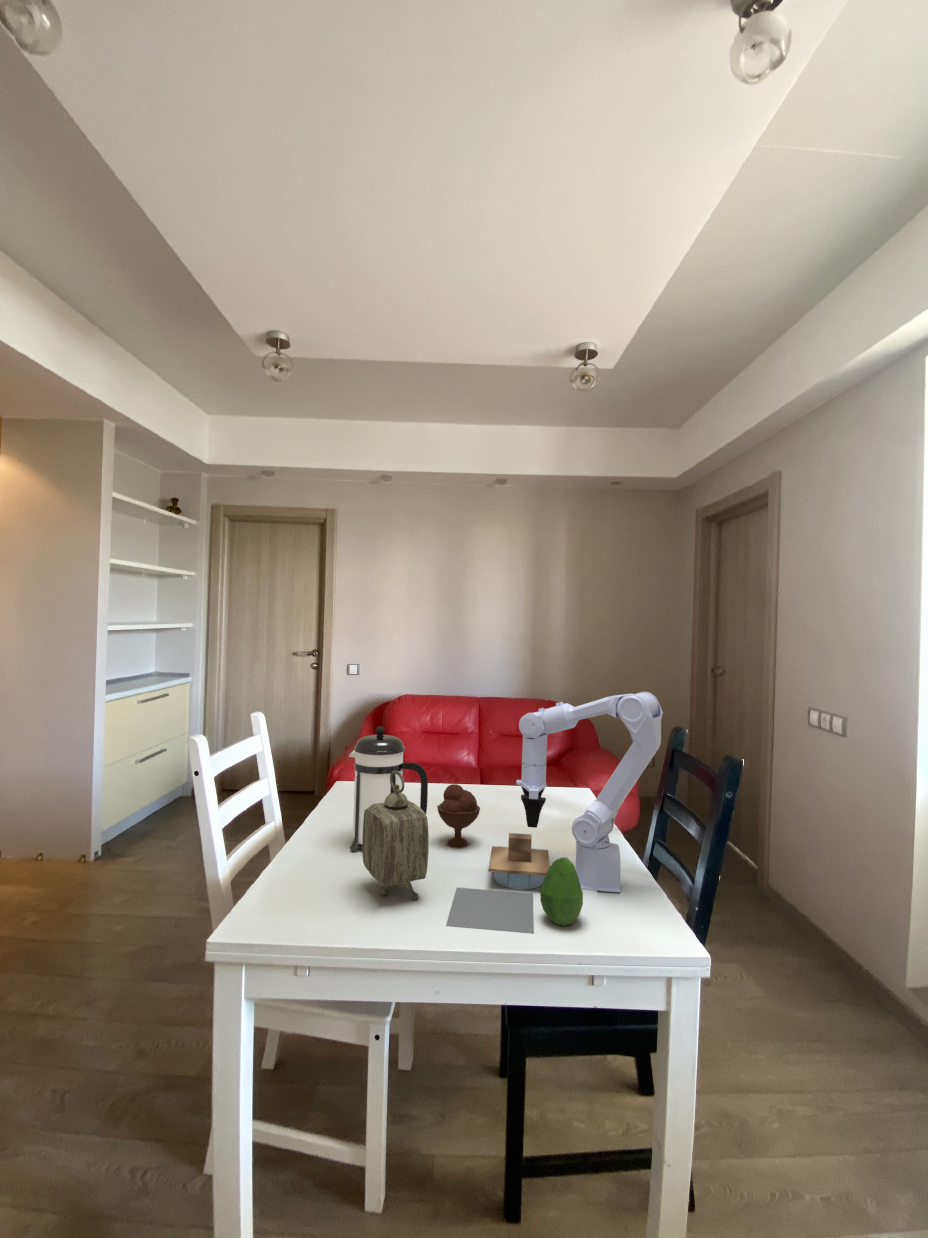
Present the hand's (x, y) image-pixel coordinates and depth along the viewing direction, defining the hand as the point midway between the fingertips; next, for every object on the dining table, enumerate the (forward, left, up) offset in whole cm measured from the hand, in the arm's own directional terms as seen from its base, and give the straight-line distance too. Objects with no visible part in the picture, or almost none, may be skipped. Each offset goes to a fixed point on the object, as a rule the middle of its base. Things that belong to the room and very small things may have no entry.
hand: (532, 821), depth 132 cm
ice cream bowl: (+19, -11, -11) cm, 24 cm away
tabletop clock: (+29, +19, -11) cm, 36 cm away
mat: (+8, +23, -10) cm, 26 cm away
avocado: (-5, +26, -11) cm, 28 cm away
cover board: (+3, +8, -6) cm, 11 cm away
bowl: (+3, +8, -10) cm, 13 cm away
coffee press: (+38, -7, -11) cm, 40 cm away
